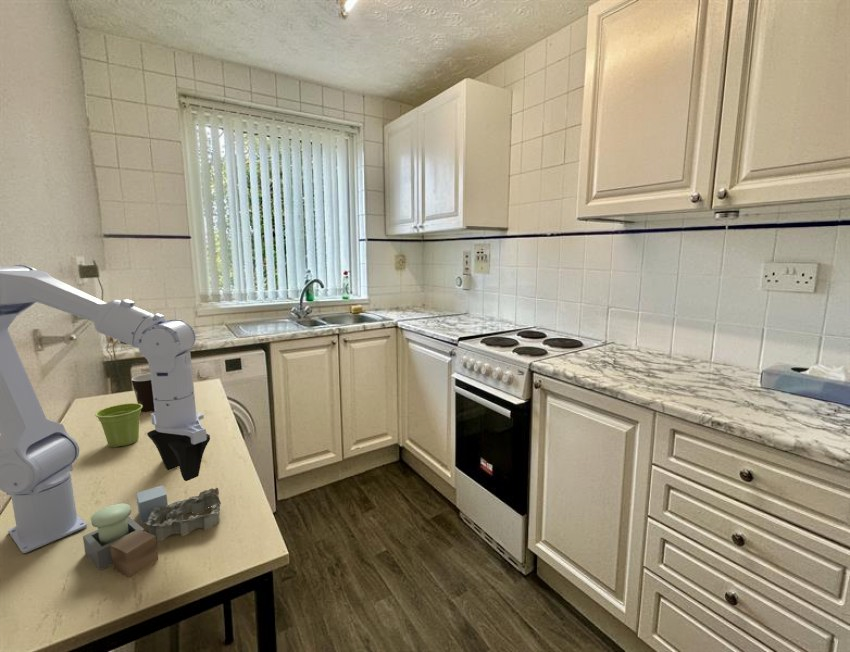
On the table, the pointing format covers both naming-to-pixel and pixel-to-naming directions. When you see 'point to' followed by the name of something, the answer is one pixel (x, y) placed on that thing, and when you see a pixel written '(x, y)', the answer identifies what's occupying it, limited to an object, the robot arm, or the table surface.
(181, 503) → the egg carton
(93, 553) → the button housing
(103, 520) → the green button
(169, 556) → the table surface
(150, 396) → the coffee mug
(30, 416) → the robot arm
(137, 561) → the walnut block
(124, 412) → the plant pot
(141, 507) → the slate-blue block
